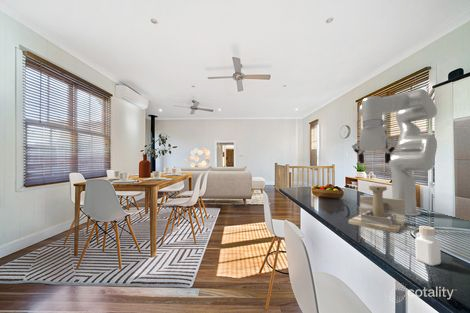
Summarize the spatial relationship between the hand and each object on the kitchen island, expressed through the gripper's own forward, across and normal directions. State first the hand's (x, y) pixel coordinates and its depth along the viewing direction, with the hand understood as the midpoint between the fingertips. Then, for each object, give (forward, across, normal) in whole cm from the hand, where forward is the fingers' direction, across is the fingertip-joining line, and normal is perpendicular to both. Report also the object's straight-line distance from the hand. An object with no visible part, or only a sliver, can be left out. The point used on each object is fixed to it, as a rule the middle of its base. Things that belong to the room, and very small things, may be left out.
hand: (374, 163), depth 93 cm
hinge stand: (+27, 0, +2) cm, 27 cm away
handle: (+25, -1, +3) cm, 26 cm away
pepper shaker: (+26, -20, +32) cm, 46 cm away
